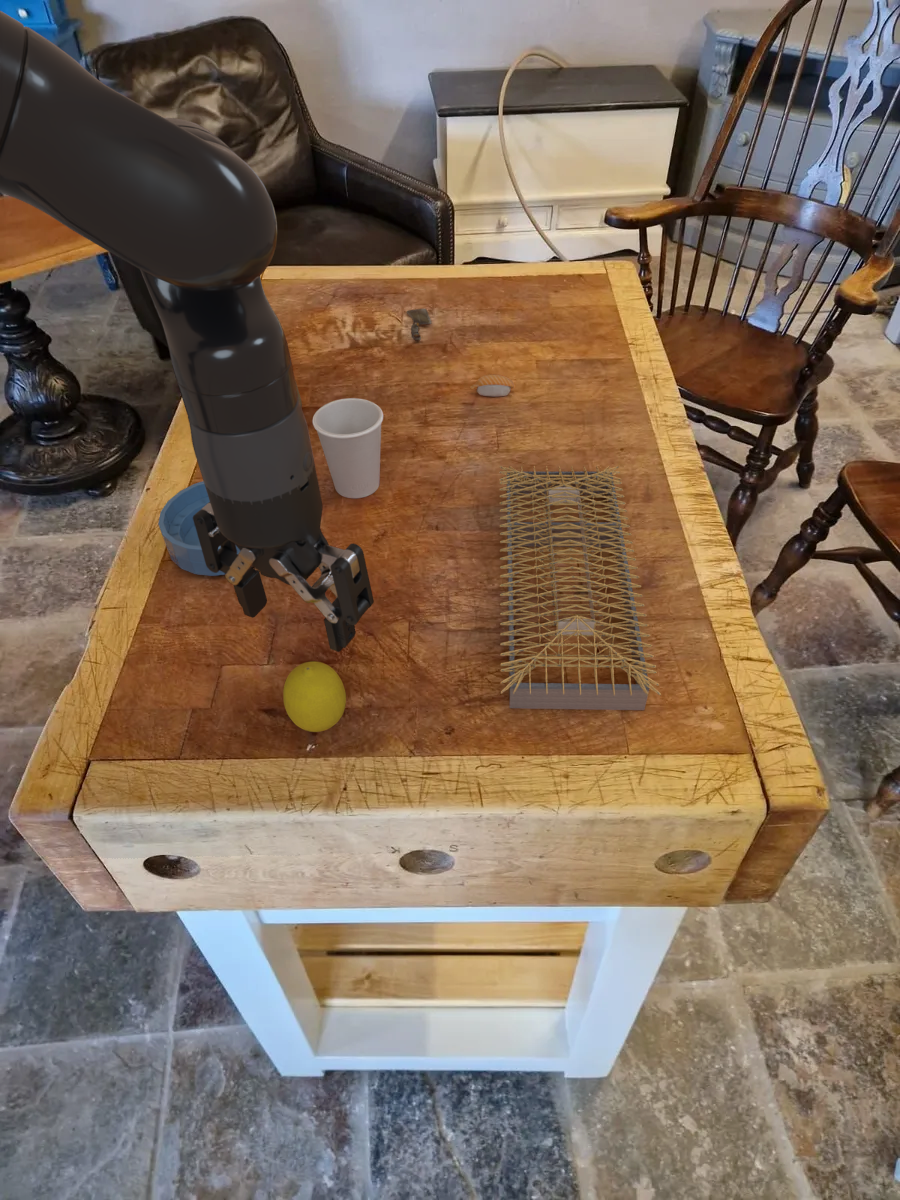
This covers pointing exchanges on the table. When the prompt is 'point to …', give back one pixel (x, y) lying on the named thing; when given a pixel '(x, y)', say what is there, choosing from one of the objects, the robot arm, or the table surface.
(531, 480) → the rafter model
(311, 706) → the lemon
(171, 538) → the bowl
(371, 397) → the table surface
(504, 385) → the sushi
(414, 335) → the grey post
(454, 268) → the table surface
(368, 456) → the dixie cup
